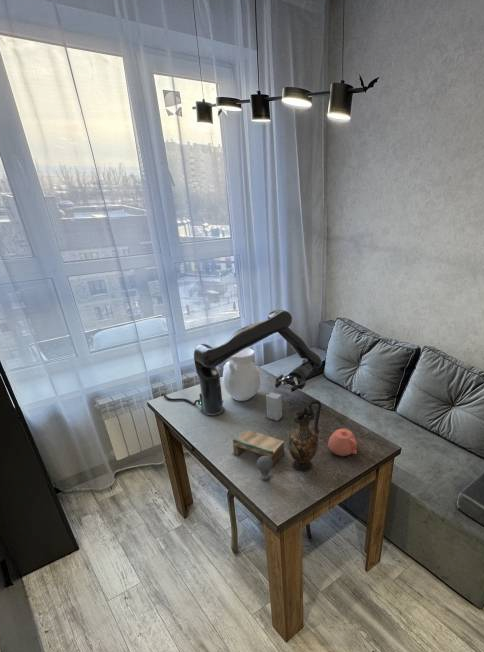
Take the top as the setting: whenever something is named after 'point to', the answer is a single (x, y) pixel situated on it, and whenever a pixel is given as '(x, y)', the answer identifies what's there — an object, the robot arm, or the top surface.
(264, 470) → the light bulb
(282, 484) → the top surface
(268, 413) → the cosmetic box
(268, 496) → the top surface
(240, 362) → the pitcher
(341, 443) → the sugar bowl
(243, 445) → the wooden step stool
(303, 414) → the vase
